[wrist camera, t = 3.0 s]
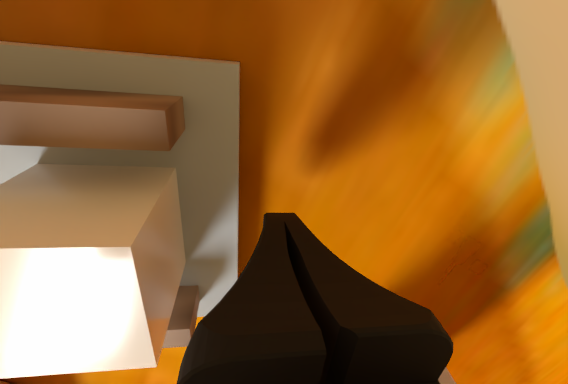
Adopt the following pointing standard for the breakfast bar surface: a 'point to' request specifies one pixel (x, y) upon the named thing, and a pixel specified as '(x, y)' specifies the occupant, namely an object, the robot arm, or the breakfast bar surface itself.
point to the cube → (87, 267)
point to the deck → (183, 156)
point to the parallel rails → (101, 144)
